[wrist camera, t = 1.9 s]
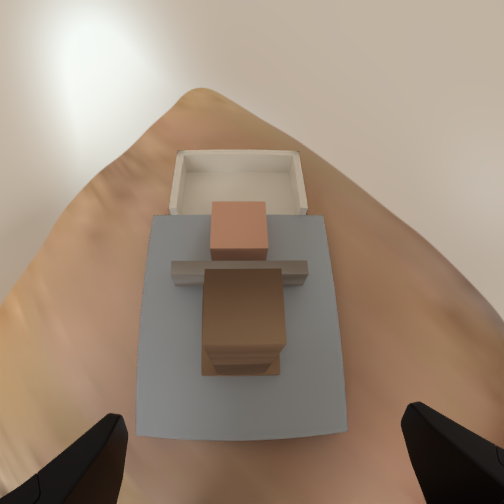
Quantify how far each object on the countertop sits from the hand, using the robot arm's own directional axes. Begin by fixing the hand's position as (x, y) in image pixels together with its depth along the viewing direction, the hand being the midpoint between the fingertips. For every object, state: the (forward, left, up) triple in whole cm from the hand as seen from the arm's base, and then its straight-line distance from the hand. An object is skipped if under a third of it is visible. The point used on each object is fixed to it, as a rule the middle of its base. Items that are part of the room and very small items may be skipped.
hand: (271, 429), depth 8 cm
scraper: (+6, +1, -12) cm, 13 cm away
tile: (+13, +1, -12) cm, 18 cm away
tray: (+19, +1, -14) cm, 23 cm away
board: (+7, +1, -14) cm, 15 cm away
